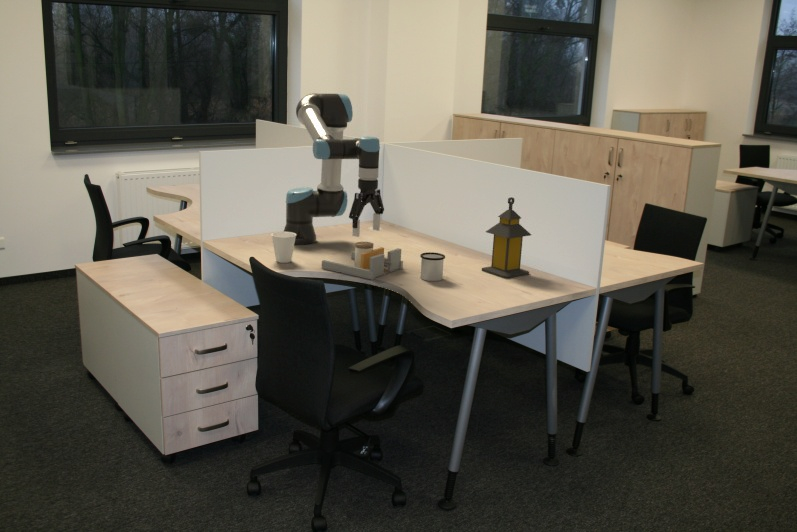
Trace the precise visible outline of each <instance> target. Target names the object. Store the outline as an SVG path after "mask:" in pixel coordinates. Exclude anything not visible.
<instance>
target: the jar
mask: <svg viewBox="0 0 797 532" xmlns="http://www.w3.org/2000/svg"><path fill="white" fill-rule="evenodd" d="M374 246H375V245H374V243H373V242H370V241H357V242H354V251H355V259H354V267H358V268H361V254H362V253H365V252H369V251H372V250H374Z"/></svg>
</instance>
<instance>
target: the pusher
mask: <svg viewBox="0 0 797 532" xmlns="http://www.w3.org/2000/svg"><path fill="white" fill-rule="evenodd" d="M379 254H384V255H385V247H379V248H376V249H373V250H372V251H369V252H365V253H362V254H361V268H363V269H367V270H369V268H370V257H373V256H376V255H379ZM384 263H385V264H390V265H391V264H392V262H388V261H384Z"/></svg>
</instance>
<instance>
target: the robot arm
mask: <svg viewBox="0 0 797 532" xmlns="http://www.w3.org/2000/svg"><path fill="white" fill-rule="evenodd" d="M352 105H353V104H352V101H351V99H350V97H349V96H348V95H346V94H342V93H315V92H314V93H313V92H312V93H309V94H307V95H305V96H303V97H302V98H301V99H300V100H299V102H298V103H297V105H296V108H295V113H296V115H295V116H296V117H297V119H298V122H299V123H300V124H301V125H303V126H304V127H305V129H306V131H307V133H308V134H309V135H310V138H311V140H312V143H313V144H312V153H313V157H314V159H316V160H321V173H320V174H321V177H320V178H321V179H320V183H319V184H318V185H316V187H317V188H316V190H314V188H312V187H305V186H304V187H303V186H302V187H296V188H291V189H290V190H288V191H287V192H286V194H285V195H286V196H285V197H286V198H285V204H286V205H285V206H286V207H285V208H286V209H285V214H286V215H285V226H284V229H283V232H292V233H295V234H296V237H295V243H294V245H310V244H314V243H316V242H317V235H316V231H315V228H314V223H313V222H314V221H313V219H314V218H329V217H331V218H335V217H340V216H343V215H344V214H345V212H346V211H347V206H348V194H347V191H346V190H344V186H343V185H342V184H341V180H342V163H343V162H342V160H358V180H357V184H358V185H357V188H358V189H359V190H360V191H359V192H355V193H354V199H353V202H352V204H351V208H350V212H349V215H348V218H349V219H351V220H352V225H351V226H352V233H351V234H352V237H356V238H357V237H360V233H361V232H360V226H361V220H360V217H361V215H362V213H363V211H364V208H365V206H367V204H370V206H371V208H372V210H373V211H374V212H373V214H372V216H373V217H372V218H373V219H372V230H373V231H378V232H379V231H380V229H381V228H380V227H381V215H383V214H384V211H385V206H384V203H383V200H382V196H381V189H379V188H378V187H379V179H378V178H379V174H380V173H379V172H380V171H379V167H380V149H381V147H380V145H381V144H380V139H379V138H378V137H375V136H362V137H360V138H358V137H357V138H353V139H348V138H347V139H344V130H345V129H347V127H348V123H351V122H352V120H353V116H354V115H353V106H352Z"/></svg>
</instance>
